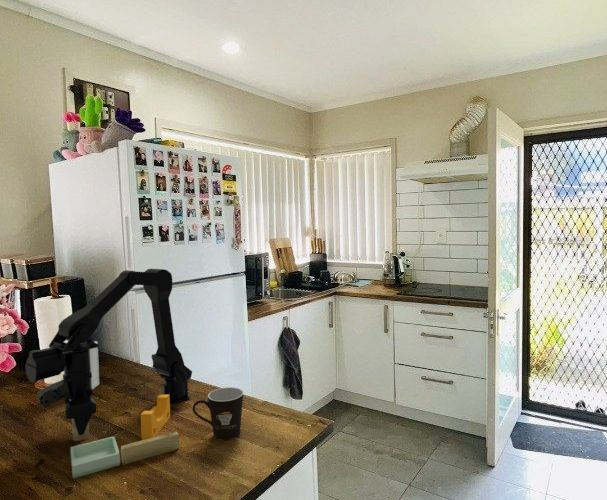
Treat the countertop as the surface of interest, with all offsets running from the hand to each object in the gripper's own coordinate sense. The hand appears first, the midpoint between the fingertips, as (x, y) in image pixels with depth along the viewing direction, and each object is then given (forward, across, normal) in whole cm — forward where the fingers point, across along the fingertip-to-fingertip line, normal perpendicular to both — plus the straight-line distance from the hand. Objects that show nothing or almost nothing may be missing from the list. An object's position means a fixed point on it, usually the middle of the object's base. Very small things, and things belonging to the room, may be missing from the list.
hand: (80, 431), depth 103 cm
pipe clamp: (+2, +5, +16) cm, 17 cm away
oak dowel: (+2, 0, 0) cm, 2 cm away
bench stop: (+2, +18, +13) cm, 22 cm away
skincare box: (+2, -35, +3) cm, 35 cm away
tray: (+2, +14, +2) cm, 14 cm away
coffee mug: (+2, +17, +30) cm, 35 cm away
